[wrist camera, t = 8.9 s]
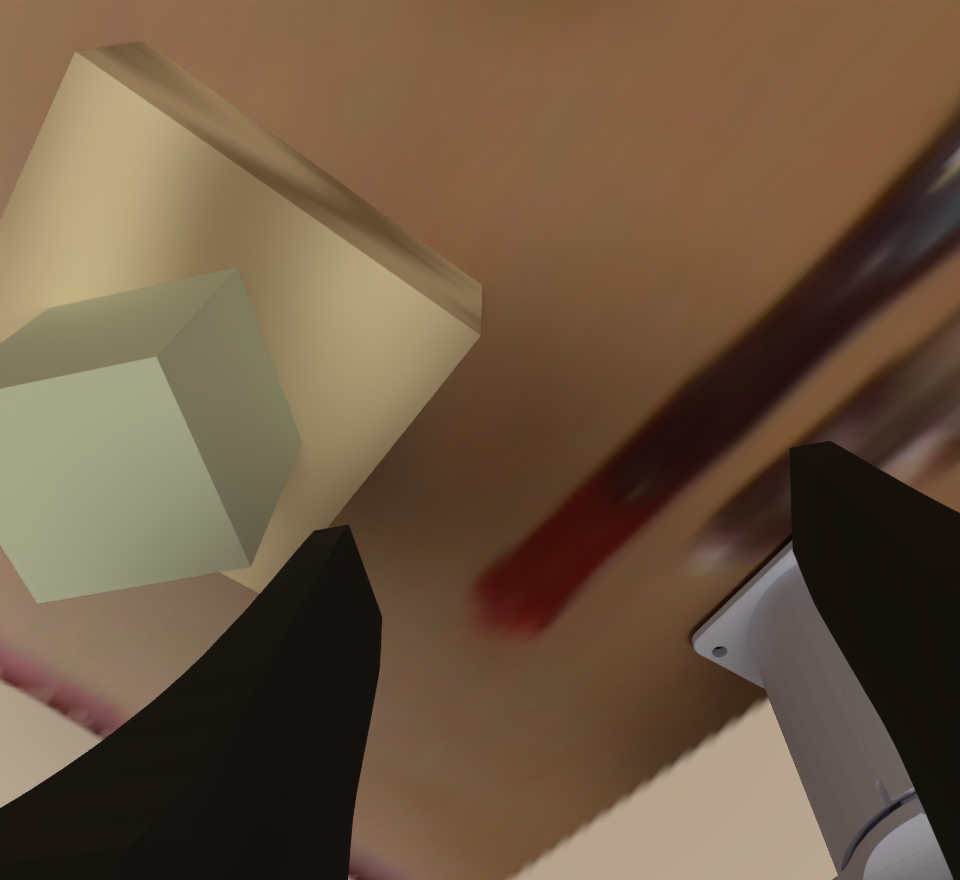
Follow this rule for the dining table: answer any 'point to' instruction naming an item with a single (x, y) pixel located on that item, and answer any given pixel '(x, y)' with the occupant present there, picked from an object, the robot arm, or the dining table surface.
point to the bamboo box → (238, 263)
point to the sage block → (140, 438)
